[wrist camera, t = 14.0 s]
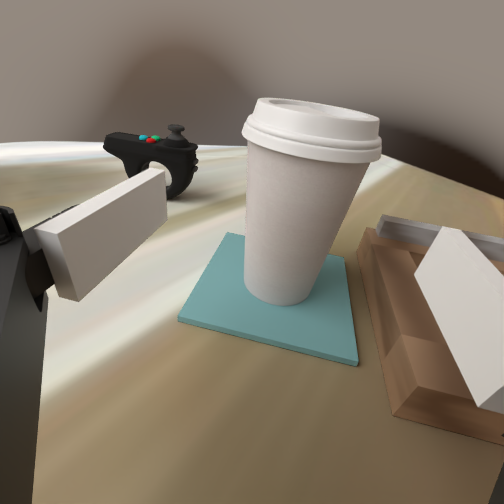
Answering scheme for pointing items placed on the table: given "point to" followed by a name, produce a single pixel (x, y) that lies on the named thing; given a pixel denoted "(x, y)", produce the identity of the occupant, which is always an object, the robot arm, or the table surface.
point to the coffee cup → (299, 190)
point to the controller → (156, 155)
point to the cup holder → (419, 330)
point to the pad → (274, 308)
